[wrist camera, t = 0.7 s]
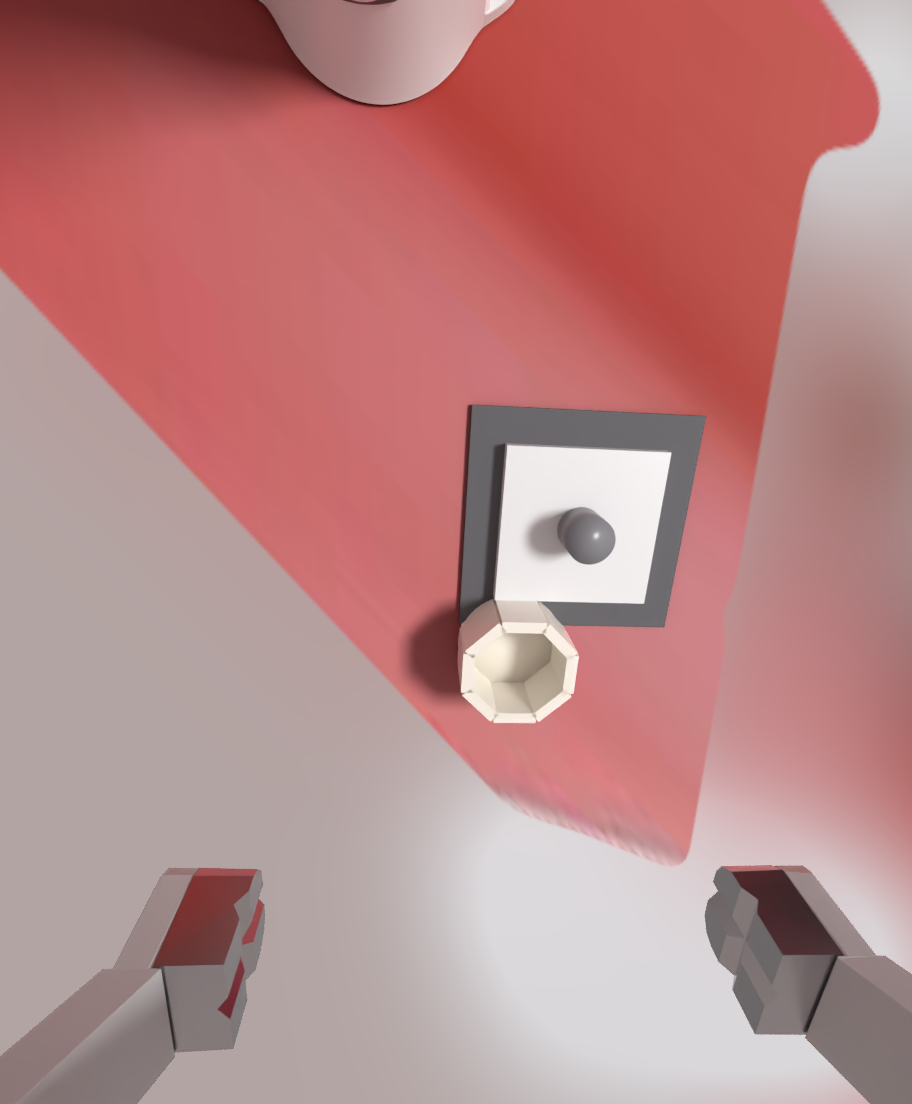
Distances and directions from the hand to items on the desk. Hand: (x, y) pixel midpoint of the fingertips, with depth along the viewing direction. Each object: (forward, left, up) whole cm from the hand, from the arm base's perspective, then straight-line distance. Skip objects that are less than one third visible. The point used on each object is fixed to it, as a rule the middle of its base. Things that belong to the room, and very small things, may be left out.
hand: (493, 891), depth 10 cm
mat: (+4, +13, -39) cm, 41 cm away
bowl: (+16, +8, -39) cm, 43 cm away
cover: (+4, +13, -39) cm, 41 cm away
